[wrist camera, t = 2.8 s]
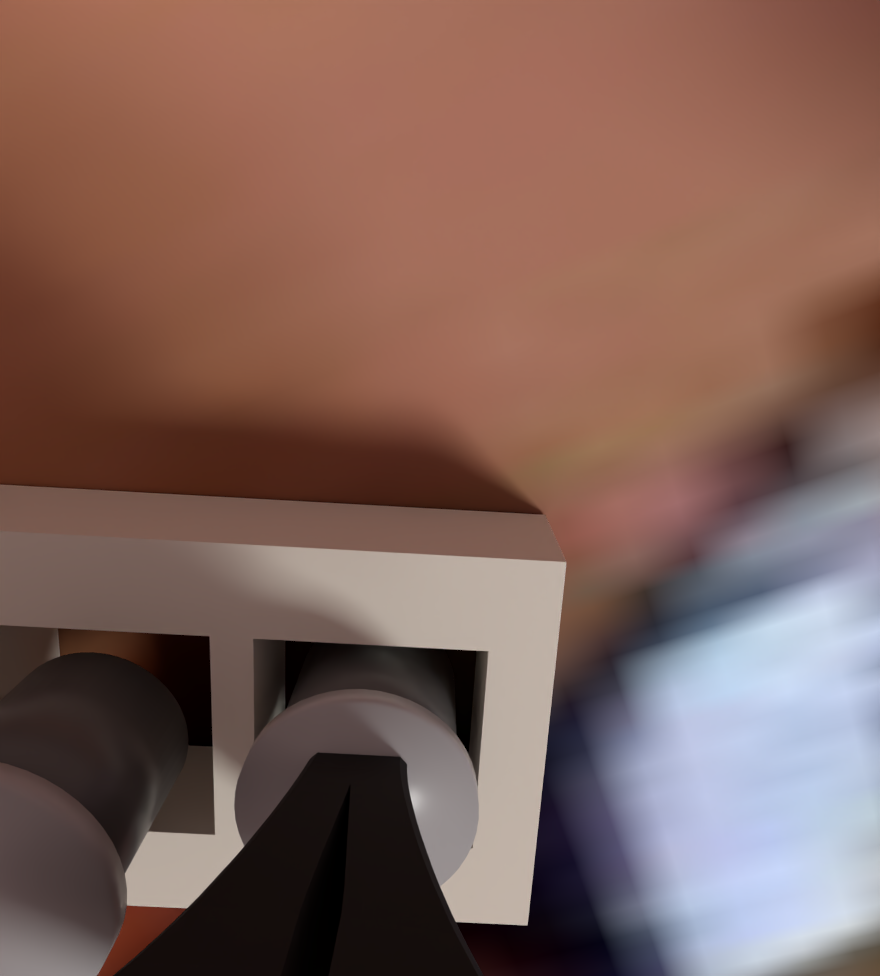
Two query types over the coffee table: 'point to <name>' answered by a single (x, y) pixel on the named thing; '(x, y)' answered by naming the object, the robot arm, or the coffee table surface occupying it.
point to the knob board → (299, 617)
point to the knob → (372, 739)
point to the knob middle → (78, 805)
